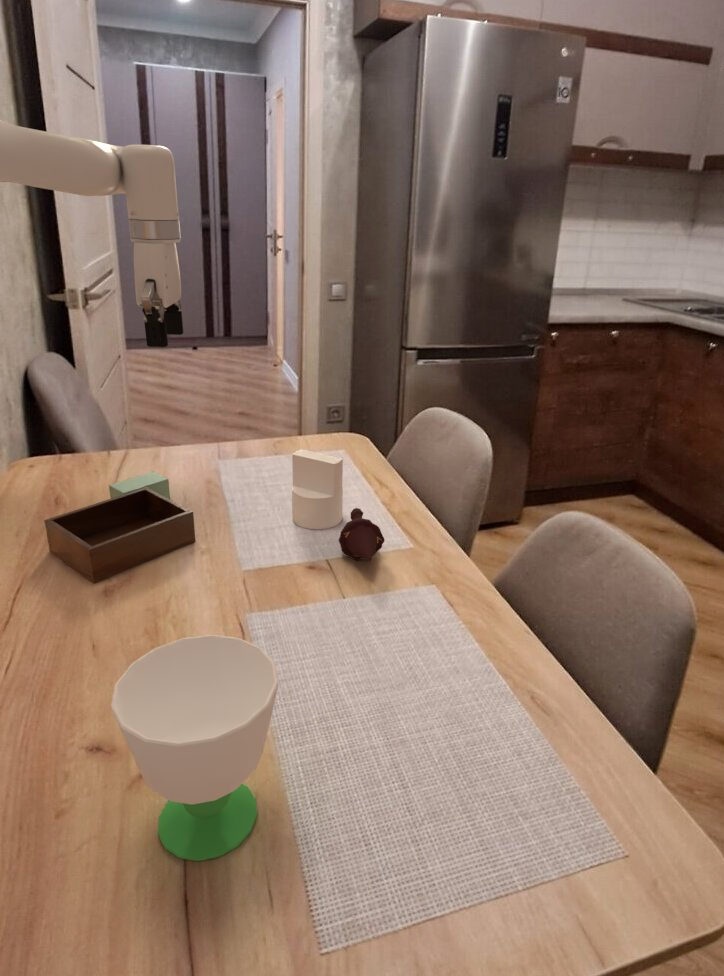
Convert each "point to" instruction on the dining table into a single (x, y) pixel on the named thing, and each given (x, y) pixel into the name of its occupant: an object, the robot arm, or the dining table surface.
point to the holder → (119, 533)
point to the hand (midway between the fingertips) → (166, 340)
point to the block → (141, 485)
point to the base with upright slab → (316, 490)
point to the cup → (199, 736)
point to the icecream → (360, 537)
